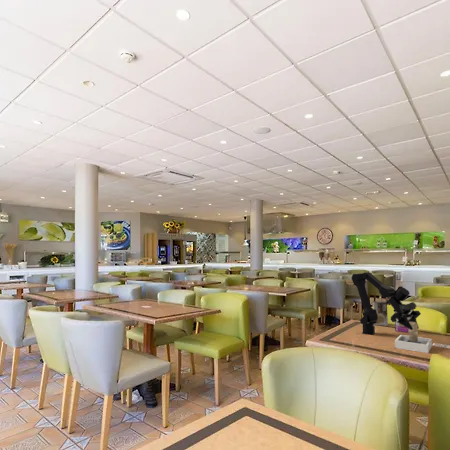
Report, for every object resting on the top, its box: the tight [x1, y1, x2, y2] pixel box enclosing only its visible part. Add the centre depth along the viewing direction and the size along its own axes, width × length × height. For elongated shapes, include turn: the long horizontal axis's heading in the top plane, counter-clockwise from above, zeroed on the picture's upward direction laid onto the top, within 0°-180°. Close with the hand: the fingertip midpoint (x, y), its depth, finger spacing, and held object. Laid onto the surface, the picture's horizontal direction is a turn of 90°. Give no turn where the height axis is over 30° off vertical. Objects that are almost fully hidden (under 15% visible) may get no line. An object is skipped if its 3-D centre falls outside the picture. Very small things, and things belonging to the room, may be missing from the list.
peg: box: [408, 321, 419, 342], centre depth 196 cm, size 4×4×10 cm
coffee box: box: [372, 300, 389, 327], centre depth 252 cm, size 9×6×16 cm
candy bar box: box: [394, 309, 415, 334], centre depth 230 cm, size 11×5×16 cm, turn 58°
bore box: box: [394, 334, 433, 354], centre depth 195 cm, size 16×16×4 cm
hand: (415, 329), depth 195 cm, fingers closed on peg, 4 cm apart
